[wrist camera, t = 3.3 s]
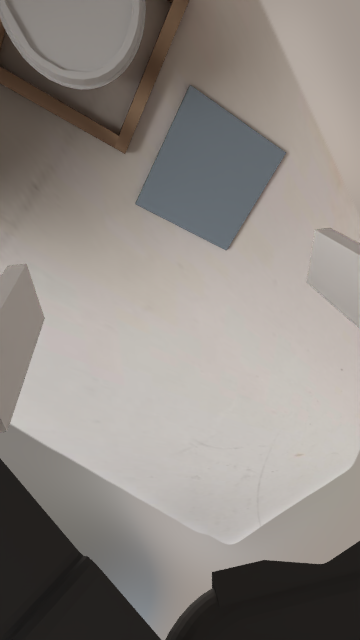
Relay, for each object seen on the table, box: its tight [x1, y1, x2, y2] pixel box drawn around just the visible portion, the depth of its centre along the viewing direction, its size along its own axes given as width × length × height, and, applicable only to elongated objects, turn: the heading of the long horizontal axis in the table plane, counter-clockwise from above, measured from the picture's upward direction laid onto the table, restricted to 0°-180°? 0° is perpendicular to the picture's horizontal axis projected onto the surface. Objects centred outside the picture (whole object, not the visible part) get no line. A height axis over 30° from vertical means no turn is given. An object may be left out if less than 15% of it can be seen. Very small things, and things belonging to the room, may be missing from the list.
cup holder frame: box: [0, 0, 189, 154], centre depth 30 cm, size 14×14×2 cm
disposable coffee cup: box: [0, 0, 146, 90], centre depth 25 cm, size 10×10×12 cm
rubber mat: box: [136, 85, 286, 250], centre depth 39 cm, size 13×13×1 cm
